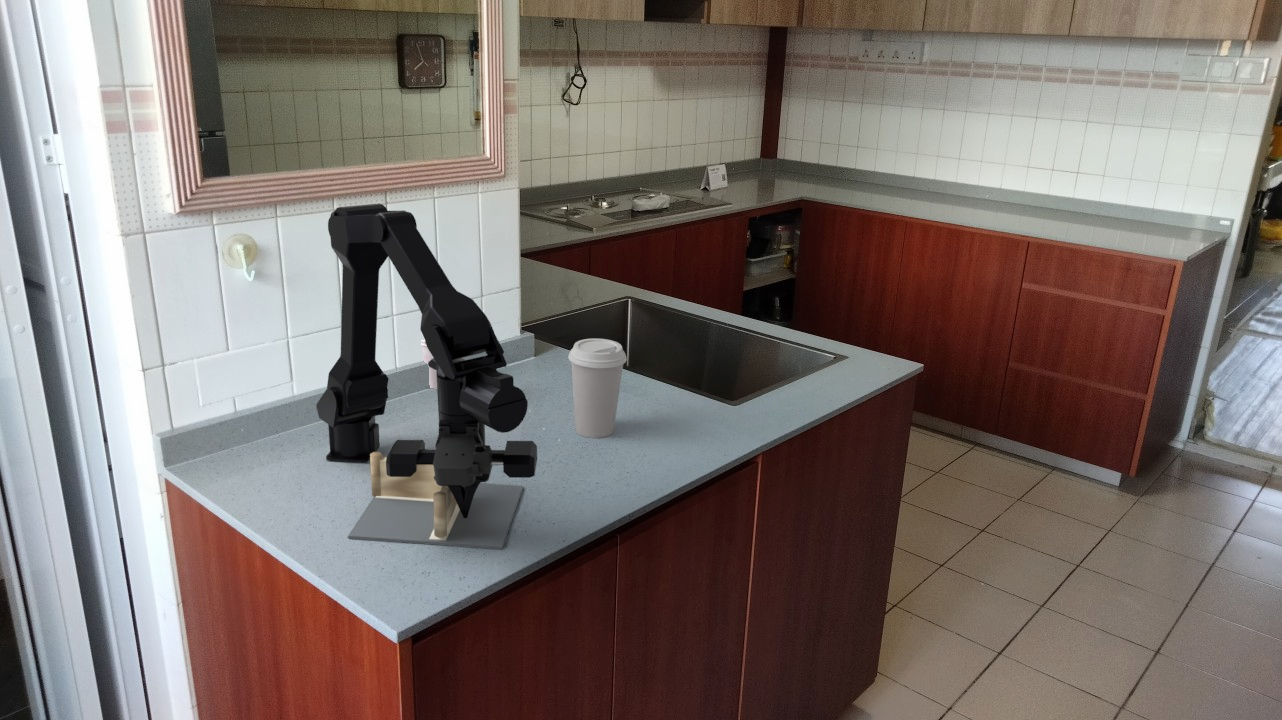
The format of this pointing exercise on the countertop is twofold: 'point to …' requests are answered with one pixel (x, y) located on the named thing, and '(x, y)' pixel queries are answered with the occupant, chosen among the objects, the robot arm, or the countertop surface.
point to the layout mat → (416, 519)
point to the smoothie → (432, 372)
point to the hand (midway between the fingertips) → (465, 516)
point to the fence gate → (443, 510)
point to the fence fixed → (402, 481)
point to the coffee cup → (596, 385)
